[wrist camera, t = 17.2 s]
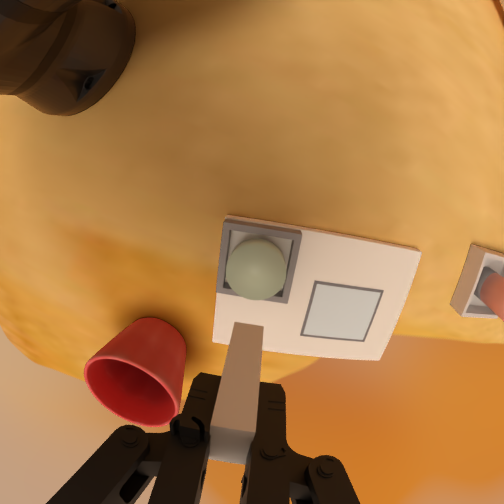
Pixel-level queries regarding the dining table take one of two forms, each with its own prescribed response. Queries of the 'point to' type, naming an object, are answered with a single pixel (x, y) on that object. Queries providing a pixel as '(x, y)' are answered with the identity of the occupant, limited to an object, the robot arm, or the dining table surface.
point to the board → (319, 291)
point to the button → (256, 269)
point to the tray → (475, 282)
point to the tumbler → (491, 291)
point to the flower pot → (140, 373)
